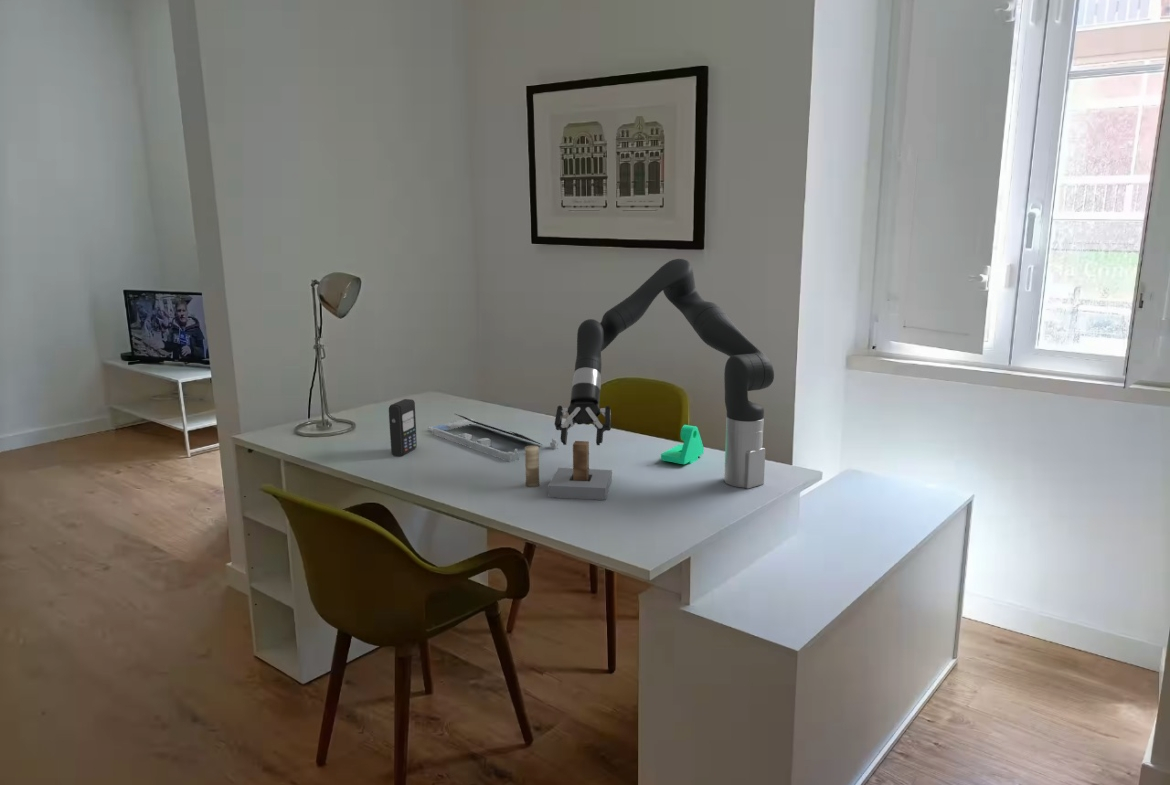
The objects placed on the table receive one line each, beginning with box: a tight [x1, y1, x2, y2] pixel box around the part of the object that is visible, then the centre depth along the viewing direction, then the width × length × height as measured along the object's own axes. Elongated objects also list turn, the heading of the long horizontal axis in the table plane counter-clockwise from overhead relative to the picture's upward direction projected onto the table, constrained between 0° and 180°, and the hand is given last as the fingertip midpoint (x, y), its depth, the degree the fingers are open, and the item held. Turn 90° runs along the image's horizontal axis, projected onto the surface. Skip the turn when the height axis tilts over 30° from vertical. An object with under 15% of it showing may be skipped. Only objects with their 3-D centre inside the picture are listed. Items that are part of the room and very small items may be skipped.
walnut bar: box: [572, 440, 590, 481], centre depth 207 cm, size 3×3×12 cm
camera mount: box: [660, 424, 705, 465], centre depth 231 cm, size 12×8×10 cm, turn 147°
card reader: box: [388, 398, 418, 457], centre depth 238 cm, size 9×4×15 cm, turn 161°
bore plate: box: [547, 467, 613, 501], centre depth 208 cm, size 14×14×3 cm
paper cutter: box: [427, 413, 559, 463], centre depth 252 cm, size 18×45×6 cm, turn 43°
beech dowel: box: [524, 444, 540, 488], centre depth 211 cm, size 3×3×10 cm
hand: (581, 443), depth 210 cm, fingers open, 8 cm apart
